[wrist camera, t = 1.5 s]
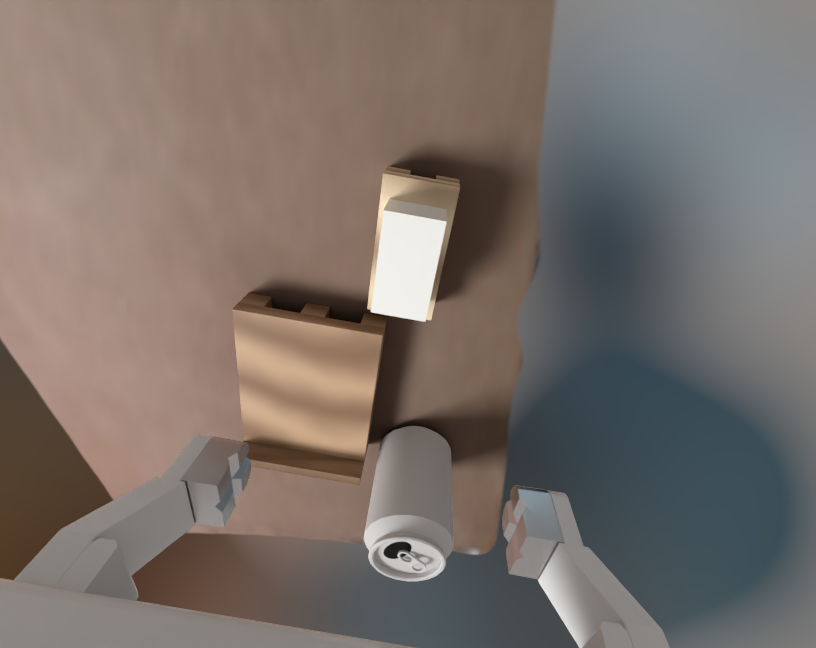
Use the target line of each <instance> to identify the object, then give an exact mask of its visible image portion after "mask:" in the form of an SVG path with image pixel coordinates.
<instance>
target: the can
mask: <svg viewBox="0 0 816 648" xmlns="http://www.w3.org/2000/svg"><path fill="white" fill-rule="evenodd" d="M364 541H365V544H366V547H367V548H368V550H369V555H368V557H369V560H370V563H371V565H373V567H374V568H375V569H376V570H377V571H378V572H380V573H382V574H383V575H385V576H388V577H391V578H394V579H397V580H403V581H421V580H427V579H430V578H432V577H435V576H437V575H438V574H439V573H440V572H442V571H443V570H444V568H445V565H446V558H447V556H448V555H450V553H451V551H452V549H453V546H454V541H453V504H452V466H451V450H450V446H449V444H448V443H447V441H446V439H444V438H443V437H442V436H441V435H439V434H438V433H436V432H434V431H432V430H430V429H428V428H425V427H420V426H406V427H403V428H399V429H396V430H393V431H392V432H390V433H389V434H387V435H386V436H385V437H384V439H383V440H382V441H381V444H380V449H379V455H378V460H377V466H376V472H375V477H374V483H373V489H372V494H371V500H370V506H369V511H368V517H367V523H366V528H365V534H364Z"/></svg>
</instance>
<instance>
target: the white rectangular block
mask: <svg viewBox="0 0 816 648" xmlns="http://www.w3.org/2000/svg"><path fill="white" fill-rule="evenodd" d="M446 223H447V215H446V209H444V208H438V207H433V206H427V205H422V204H416V203H411V202H405V201H400V200H394V199H389V200H388V202H387V204H386V206H385V208H384V210H383V217H382V225H381V233H380V242H379V250H378V258H377V266H376V274H375V282H374V290H373V298H372V306H371V312H372V313H378V314H383V315H389V316H395V317H400V318H406V319H412V320H417V321H423V322H426V317H427V312H428V308H429V303H430V298H431V293H432V289H433V284H434V279H435V275H436V270H437V265H438V260H439V256H440V251H441V246H442V242H443V237H444V232H445V227H446Z"/></svg>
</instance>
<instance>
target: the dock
mask: <svg viewBox="0 0 816 648" xmlns="http://www.w3.org/2000/svg"><path fill="white" fill-rule="evenodd" d="M232 311H233V322H234V334H235V345H236V356H237V367H238V379H239V390H240V401H241V412H242V424H243V435H244V442H246V443H248V445H249V452H248V454H247V456H246V457H247V458H248V459H249V460H250V461H251V467H256V468H262V469H268V470H273V471H279V472H285V473H291V474H297V475H303V476H309V477H315V478H321V479H327V480H332V481H338V482H344V483H350V484H356V485H360V480H361V475H362V471H363V466H364V461H365V456H366V452H367V447H368V441H369V435H370V428H371V422H372V415H373V408H374V402H375V395H376V389H377V382H378V375H379V369H380V362H381V356H382V349H383V342H384V336H385V329H386V323H387V317H384V316H378V315H373V314H367V313H364V315H363V318H362V321H361V324H360V323H354V322H348V321H343V320H337V319H331V318H329V312H330V307H327V306H322V305H316V304H310V303H306V305H305V306H304V308H303V309H302V311H301V312H300V313H297V312H292V311H286V310H280V309H275V308H272V297H271V296H265V295H259V294H254V293H248V294H247V295H246V296H245V297H244V298H243V299H242V300H241V301H240V302H239V303H238V304H237V305H236V306H235V307H234V308H233V309H232Z"/></svg>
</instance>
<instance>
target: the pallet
mask: <svg viewBox="0 0 816 648" xmlns="http://www.w3.org/2000/svg"><path fill="white" fill-rule="evenodd" d="M410 174H411V170H405V169H400V168H394V167H389V166H388V168H387V169H386V170H385V172H384V173H383V179H382V188H381V196H380V205H379V213H378V221H377V230H376V238H375V247H374V255H373V264H372V272H371V281H370V289H369V297H368V306H367V309H370V310H371V306H372V298H373V290H374V282H375V274H376V266H377V258H378V250H379V242H380V233H381V225H382V217H383V210H384V208H385V206H386V204H387V202H388V200H389V199H394V200H400V201H405V202H411V203H416V204H422V205H427V206H433V207H438V208H444V209H446V215H447V223H446V227H445V232H444V237H443V242H442V246H441V251H440V256H439V260H438V265H437V270H436V275H435V279H434V284H433V289H432V293H431V298H430V303H429V308H428V312H427V317H426V320H431V318H432V314H433V309H434V305H435V300H436V296H437V291H438V286H439V282H440V277H441V273H442V268H443V264H444V259H445V255H446V250H447V246H448V241H449V237H450V232H451V228H452V223H453V218H454V214H455V209H456V205H457V200H458V196H459V191H460V183H459V179H454V178H449V177H443V176H438V175H436V179H431V178H426V177H420V176H415V175H410Z"/></svg>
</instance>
